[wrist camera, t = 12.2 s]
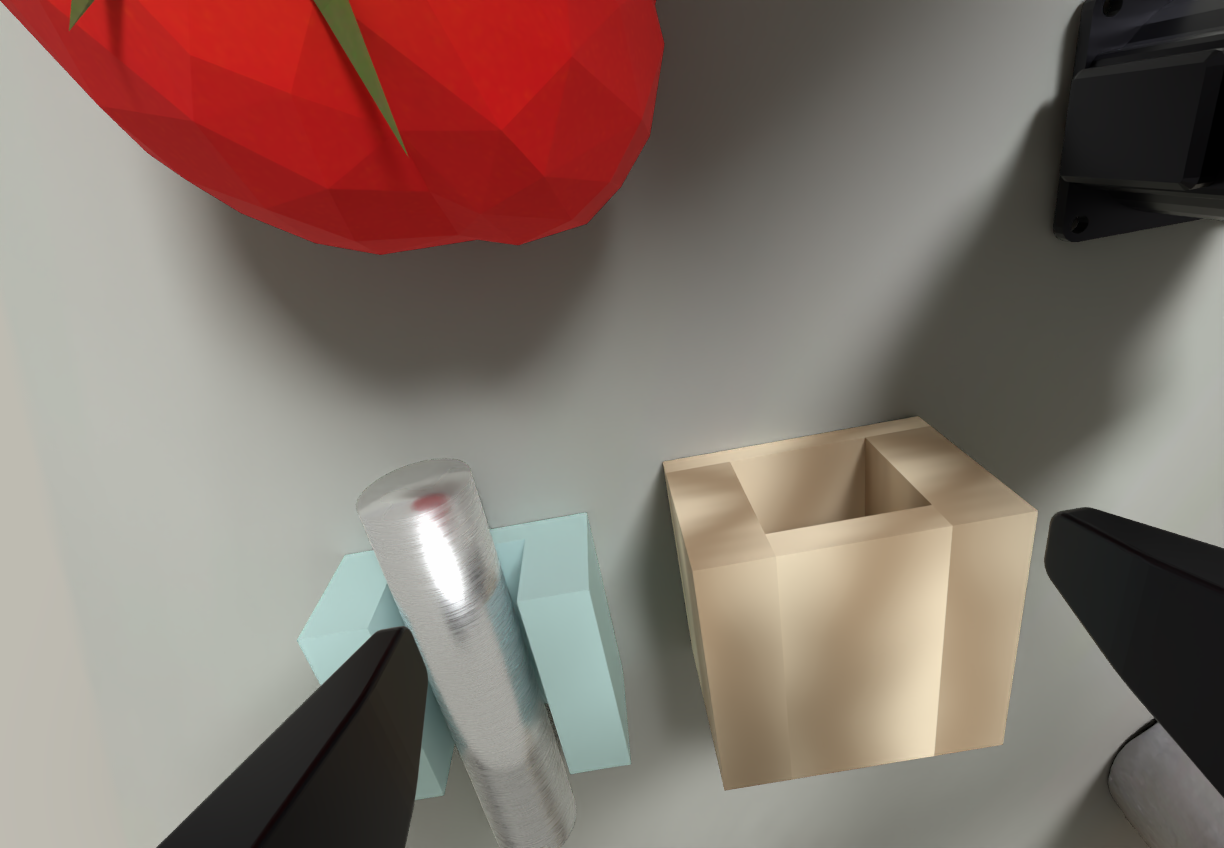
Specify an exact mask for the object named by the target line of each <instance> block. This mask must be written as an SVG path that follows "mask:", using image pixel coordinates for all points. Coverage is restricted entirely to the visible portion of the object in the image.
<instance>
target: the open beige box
mask: <svg viewBox="0 0 1224 848" xmlns="http://www.w3.org/2000/svg"><path fill="white" fill-rule="evenodd" d="M663 467H664V473H665V480H666V486H667V492H668V499H669V505H670V511H671V518H672V524H673V530H674V537H675V543H676V550H677V556H678V562H679V569H680V575H681V581H682V588H683V594H684V600H685V607H686V613H687V619H688V626H689V632H690V638H691V645H692V651H693V655H694V659H695V664H696V668H697V672H698V677H699V681H700V686H701V690H702V694H703V699H704V703H705V707H706V712H707V716H708V720H709V725H710V729H711V733H712V738H713V742H714V747H715V751H716V755H717V760H718V764H719V768H720V773H721V777H722V781H723V786H724V790H731V789H737V788H743V787H749V786H755V785H761V784H767V783H773V782H779V781H785V780H791V779H797V778H803V777H810V776H816V775H822V774H828V773H834V772H840V771H846V770H852V769H858V768H864V767H870V766H876V765H882V764H888V763H894V762H900V761H906V760H912V759H919V758H925V757H931V756H937V755H943V754H949V753H955V752H961V751H967V750H973V749H979V748H985V747H991V746H997V745H1003V740H1004V733H1005V727H1006V720H1007V713H1008V707H1009V700H1010V693H1011V687H1012V680H1013V674H1014V667H1015V660H1016V654H1017V647H1018V641H1019V634H1020V627H1021V621H1022V614H1023V608H1024V601H1025V594H1026V588H1027V581H1028V574H1029V568H1030V561H1031V555H1032V548H1033V541H1034V535H1035V528H1036V522H1037V515H1038V511H1037V510H1036V509H1035V508H1034V507H1032V506H1031V505H1030V504H1029V503H1027V502H1026V501H1025V500H1024V499H1022V498H1021V497H1020V496H1019V495H1017V494H1016V493H1015V492H1014V491H1012V490H1011V489H1010V488H1008V487H1007V486H1006V485H1005V484H1003V483H1002V482H1001V481H1000V480H998V479H997V478H996V477H995V476H993V475H992V474H991V473H990V472H988V471H987V470H986V469H984V468H983V467H982V466H981V465H979V464H978V463H977V462H976V461H974V460H973V459H972V458H971V457H969V456H968V455H967V454H966V453H964V452H963V451H962V450H961V449H959V448H958V447H957V446H955V445H954V444H953V443H952V442H950V441H949V440H948V439H947V438H945V437H944V436H943V435H942V434H940V433H939V432H938V431H937V430H935V429H934V428H933V427H931V426H930V425H929V424H928V423H926V422H925V421H924V420H923V419H921V418H920V417H919V416H916V417H910V418H905V419H899V420H894V421H888V422H882V423H877V424H871V425H866V426H860V427H854V428H849V429H843V430H838V431H832V432H826V433H821V434H815V435H810V436H804V437H799V438H793V439H787V440H782V441H776V442H771V443H765V444H759V445H754V446H748V447H743V448H737V449H732V450H726V451H720V452H715V453H709V454H704V455H698V456H692V457H687V458H681V459H676V460H670V461H664V462H663Z"/></svg>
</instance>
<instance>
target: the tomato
mask: <svg viewBox="0 0 1224 848" xmlns="http://www.w3.org/2000/svg"><path fill="white" fill-rule="evenodd" d="M0 1H1V2H2V3H3V4H4V5H5V6H6V7H7V8H8V9H9V11H10V12H11V13H12V14H13V15H14V16H15V17H16V18H17V19H18V20H19V21H20V22H21V23H22V24H23V25H24V27H25V28H26V29H27V30H28V31H29V32H30V33H31V34H32V35H33V36H34V37H35V38H36V39H37V40H38V41H39V43H40V44H41V45H42V46H43V47H44V48H45V49H46V50H47V51H48V52H49V53H50V54H51V55H52V56H53V57H54V59H55V60H56V61H57V62H58V63H59V64H60V65H61V66H62V67H63V68H64V69H65V70H66V71H67V72H68V74H69V75H70V76H71V77H72V78H73V79H74V80H75V81H76V82H77V83H78V84H79V85H80V86H81V87H82V88H83V90H84V91H85V92H86V93H87V94H88V95H89V96H90V97H91V98H92V99H93V100H94V101H95V102H96V103H97V104H98V106H99V107H100V108H102V109H103V110H104V111H105V112H106V113H107V114H108V115H109V116H110V117H111V118H112V119H113V120H114V121H115V122H116V123H117V124H118V125H119V126H120V127H121V128H122V129H123V130H124V131H125V132H126V133H127V134H128V135H129V136H130V137H131V138H132V139H133V140H135V141H136V142H137V143H138V144H139V145H140V146H141V147H142V148H143V149H144V150H145V151H146V152H147V153H148V154H150V155H151V156H152V157H154V158H155V159H157V160H158V161H160V162H161V163H163V164H164V165H165V166H167V167H168V168H170V169H171V170H173V171H174V172H176V173H177V174H179V175H180V176H181V177H183V178H184V179H186V180H187V181H189V182H191V183H192V184H194V185H195V186H197V187H199V188H200V189H202V190H204V191H205V192H207V193H209V194H210V195H212V196H214V197H215V198H217V199H219V200H220V201H222V202H223V203H225V204H227V205H228V206H230V207H232V208H233V209H235V210H237V211H238V212H240V213H242V214H244V215H247V216H249V217H252V218H254V219H257V220H259V221H262V222H264V223H267V224H269V225H271V226H274V227H276V228H279V229H281V230H284V231H286V232H289V233H291V234H294V235H296V236H299V237H301V238H304V239H306V240H309V241H311V242H314V243H317V244H323V245H328V246H334V247H340V248H345V249H351V250H356V251H362V252H367V253H373V254H379V255H383V254H389V253H395V252H402V251H408V250H415V249H421V248H428V247H434V246H440V245H447V244H453V243H460V242H466V241H472V240H483V241H491V242H498V243H505V244H513V245H521V244H524V243H527V242H530V241H534V240H537V239H540V238H543V237H546V236H550V235H553V234H556V233H559V232H562V231H565V230H569V229H572V228H575V227H578V226H581V225H585V224H587V223H588V222H589V221H590V220H591V219H592V218H593V217H594V216H595V214H596V213H597V212H598V211H599V210H600V209H601V208H602V207H603V206H604V205H605V204H606V203H607V201H608V200H609V199H610V198H611V197H612V196H613V195H614V194H615V193H616V192H617V191H618V189H619V188H620V187H621V186H622V184H623V182H624V181H625V179H626V177H627V175H628V174H629V172H630V170H631V168H632V166H633V165H634V163H635V161H636V159H637V158H638V156H639V154H640V152H641V151H642V149H643V147H644V145H645V144H646V142H647V140H648V138H649V137H650V133H651V126H652V120H653V114H654V107H655V101H656V95H657V88H658V82H659V76H660V69H661V63H662V57H663V50H664V40H663V36H662V32H661V28H660V24H659V20H658V16H657V12H656V8H655V3H656V0H0Z"/></svg>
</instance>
